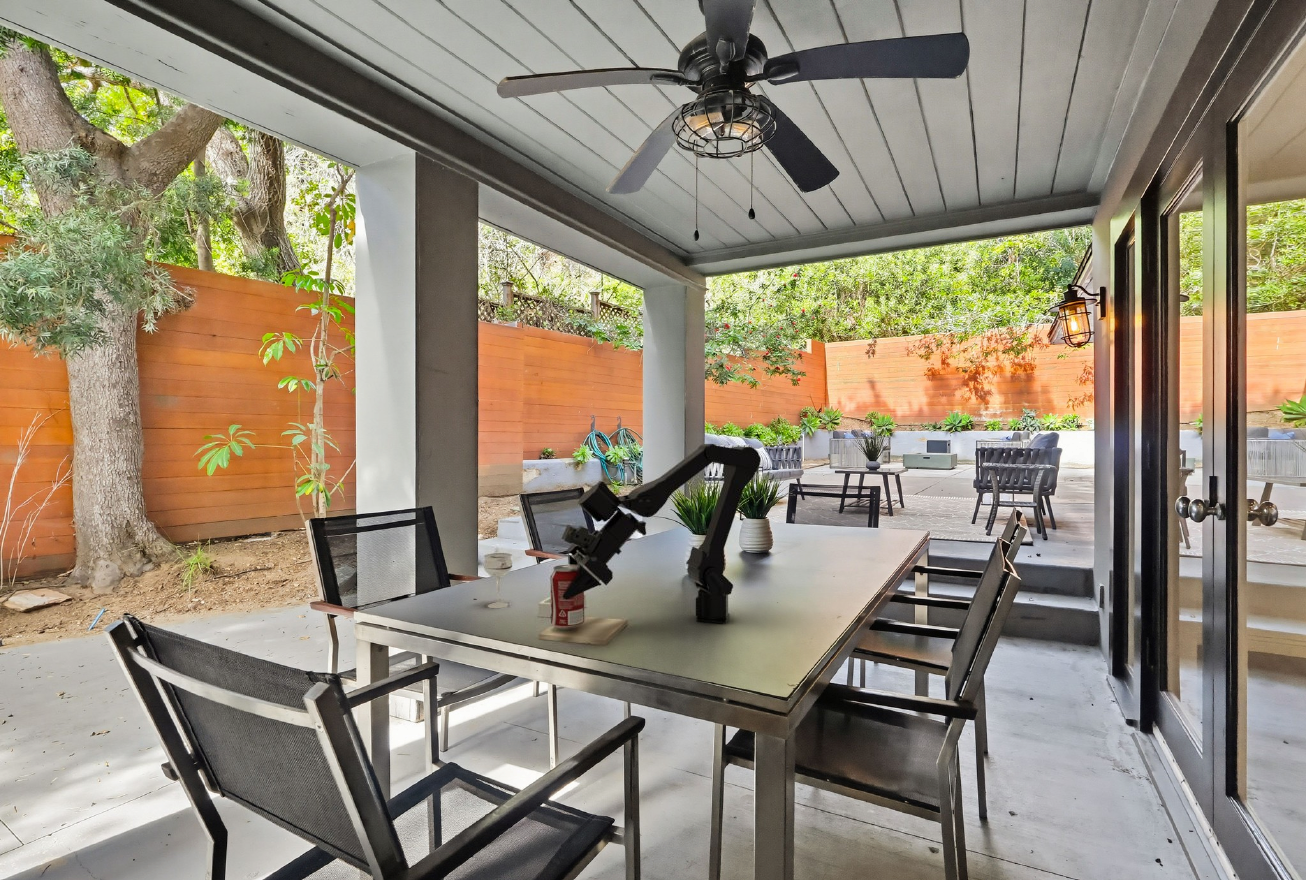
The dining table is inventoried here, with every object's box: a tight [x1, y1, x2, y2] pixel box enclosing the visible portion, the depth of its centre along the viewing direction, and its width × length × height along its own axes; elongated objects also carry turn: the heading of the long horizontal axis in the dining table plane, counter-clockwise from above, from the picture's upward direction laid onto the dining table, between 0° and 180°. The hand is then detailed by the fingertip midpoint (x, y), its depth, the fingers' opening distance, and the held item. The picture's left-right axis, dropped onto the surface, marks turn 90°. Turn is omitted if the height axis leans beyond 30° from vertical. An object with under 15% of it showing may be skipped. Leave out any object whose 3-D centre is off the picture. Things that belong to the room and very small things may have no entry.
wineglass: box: [483, 552, 513, 609], centre depth 152 cm, size 7×7×12 cm
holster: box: [537, 593, 587, 618], centre depth 146 cm, size 7×11×3 cm
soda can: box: [550, 564, 585, 629], centre depth 129 cm, size 7×7×12 cm
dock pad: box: [538, 616, 629, 646], centre depth 131 cm, size 14×14×1 cm
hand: (560, 594), depth 129 cm, fingers closed on soda can, 7 cm apart
